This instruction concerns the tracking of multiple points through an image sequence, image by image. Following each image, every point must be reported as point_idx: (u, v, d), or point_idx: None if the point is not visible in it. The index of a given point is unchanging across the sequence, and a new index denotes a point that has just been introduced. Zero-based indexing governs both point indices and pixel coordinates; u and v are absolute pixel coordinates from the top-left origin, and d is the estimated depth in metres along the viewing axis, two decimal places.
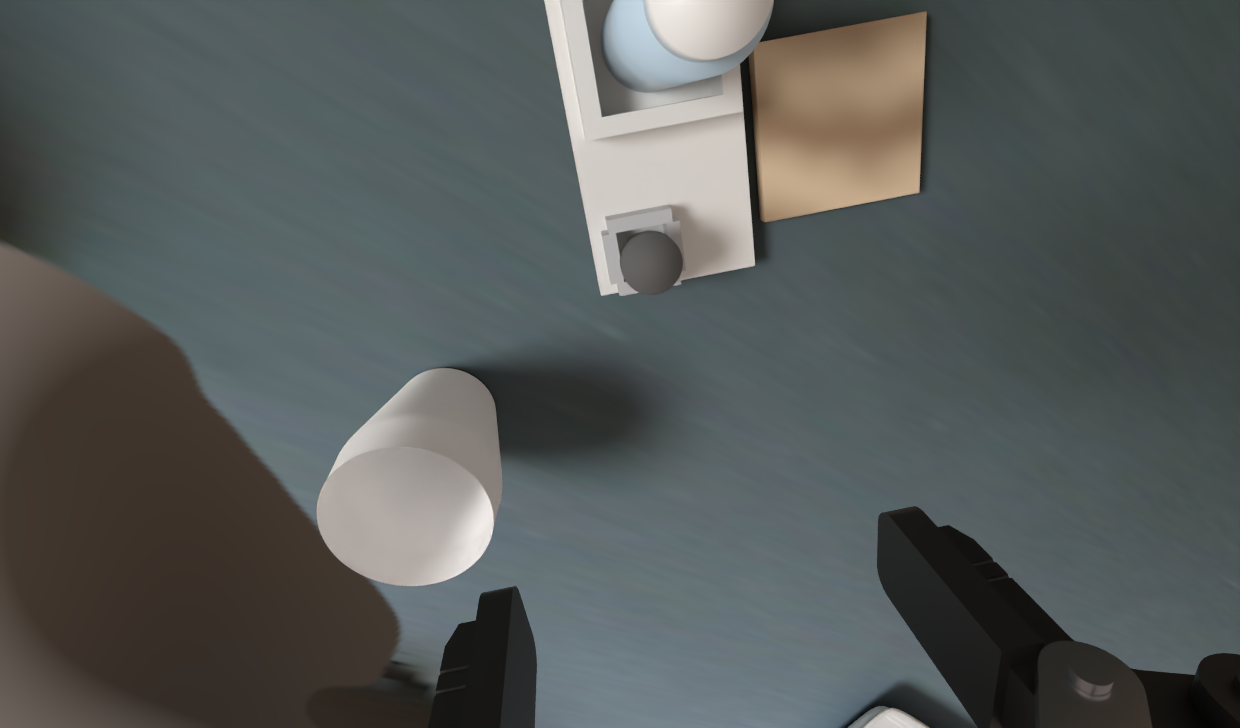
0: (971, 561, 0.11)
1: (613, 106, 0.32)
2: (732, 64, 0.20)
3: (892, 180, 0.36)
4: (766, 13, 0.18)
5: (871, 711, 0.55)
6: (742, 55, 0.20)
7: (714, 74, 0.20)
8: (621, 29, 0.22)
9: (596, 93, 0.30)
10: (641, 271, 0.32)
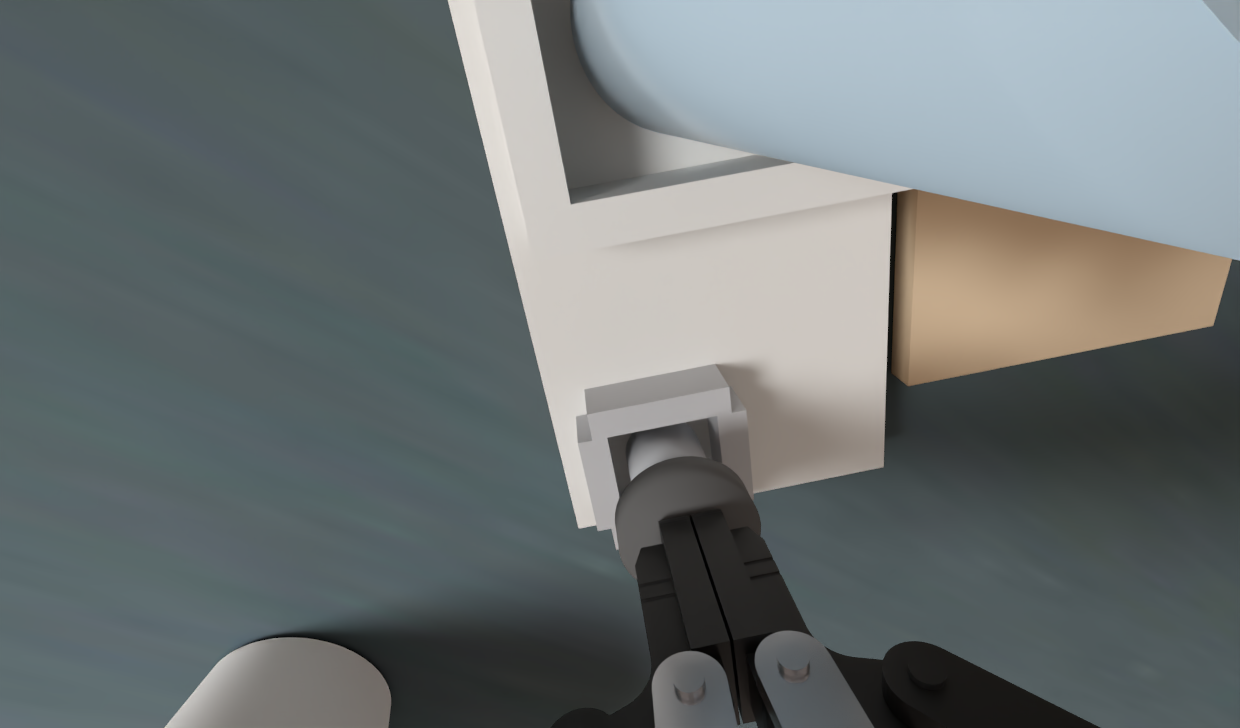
0: (753, 559, 0.12)
1: (602, 165, 0.14)
2: None
3: (1167, 304, 0.18)
4: None
5: None
6: None
7: None
8: None
9: (555, 146, 0.11)
10: None
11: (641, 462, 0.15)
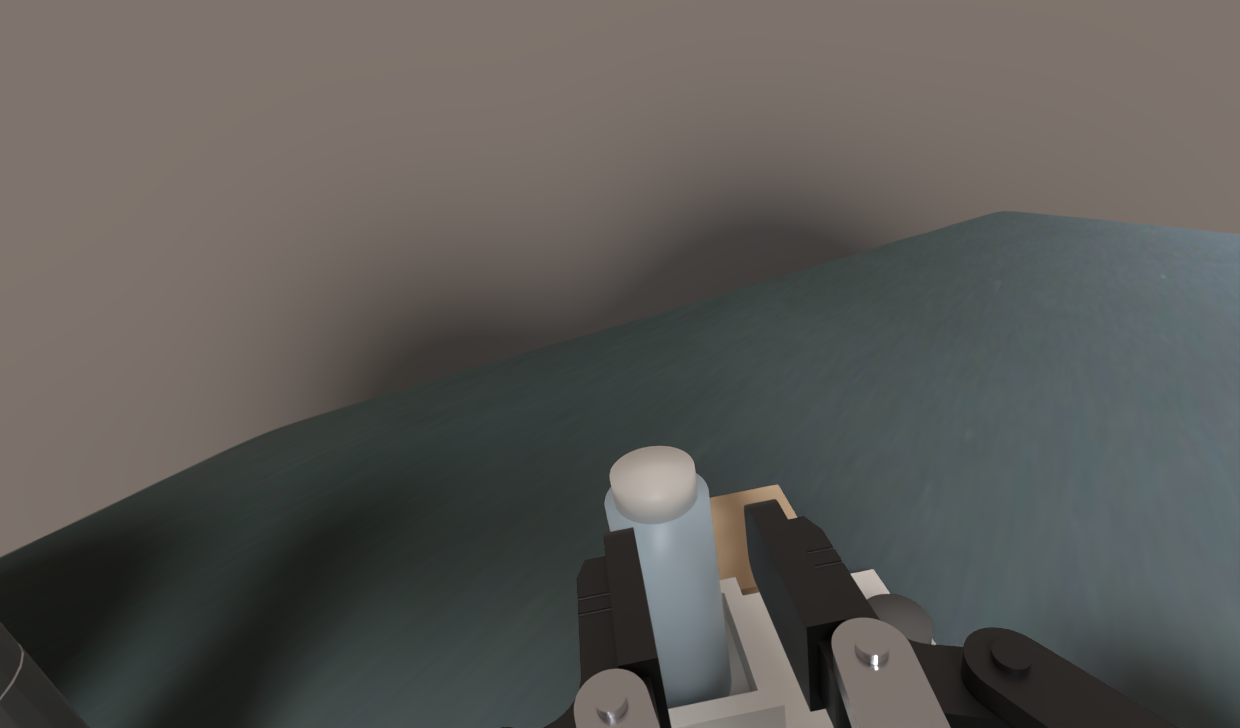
0: (813, 548, 0.12)
1: None
2: (697, 476, 0.28)
3: None
4: (666, 447, 0.28)
5: None
6: None
7: (705, 484, 0.28)
8: (678, 578, 0.26)
9: (736, 696, 0.29)
10: (906, 628, 0.29)
11: None
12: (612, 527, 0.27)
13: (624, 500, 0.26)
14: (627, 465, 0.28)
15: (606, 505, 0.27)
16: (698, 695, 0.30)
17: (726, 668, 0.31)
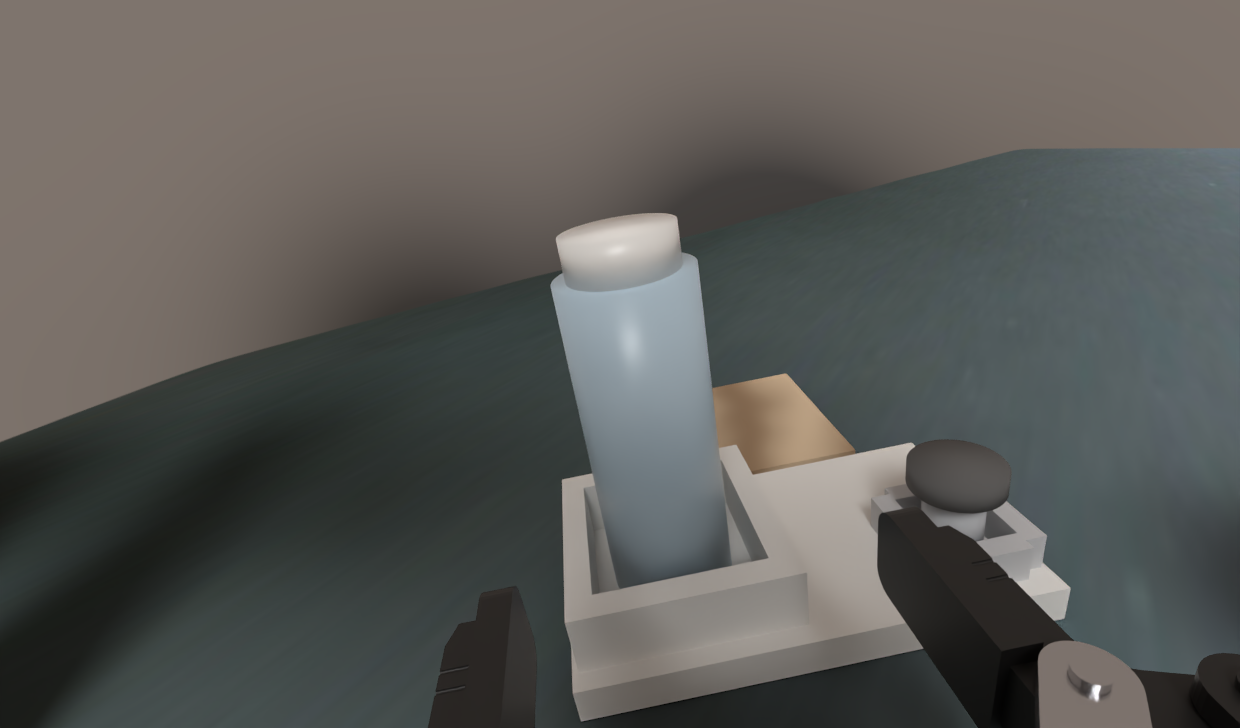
0: (971, 561, 0.11)
1: None
2: (683, 254, 0.20)
3: (780, 387, 0.38)
4: (639, 215, 0.20)
5: None
6: None
7: (692, 258, 0.20)
8: (654, 378, 0.18)
9: (738, 566, 0.21)
10: (974, 472, 0.21)
11: None
12: (559, 309, 0.19)
13: (574, 258, 0.18)
14: (582, 229, 0.19)
15: (553, 285, 0.19)
16: (686, 570, 0.22)
17: (724, 539, 0.23)
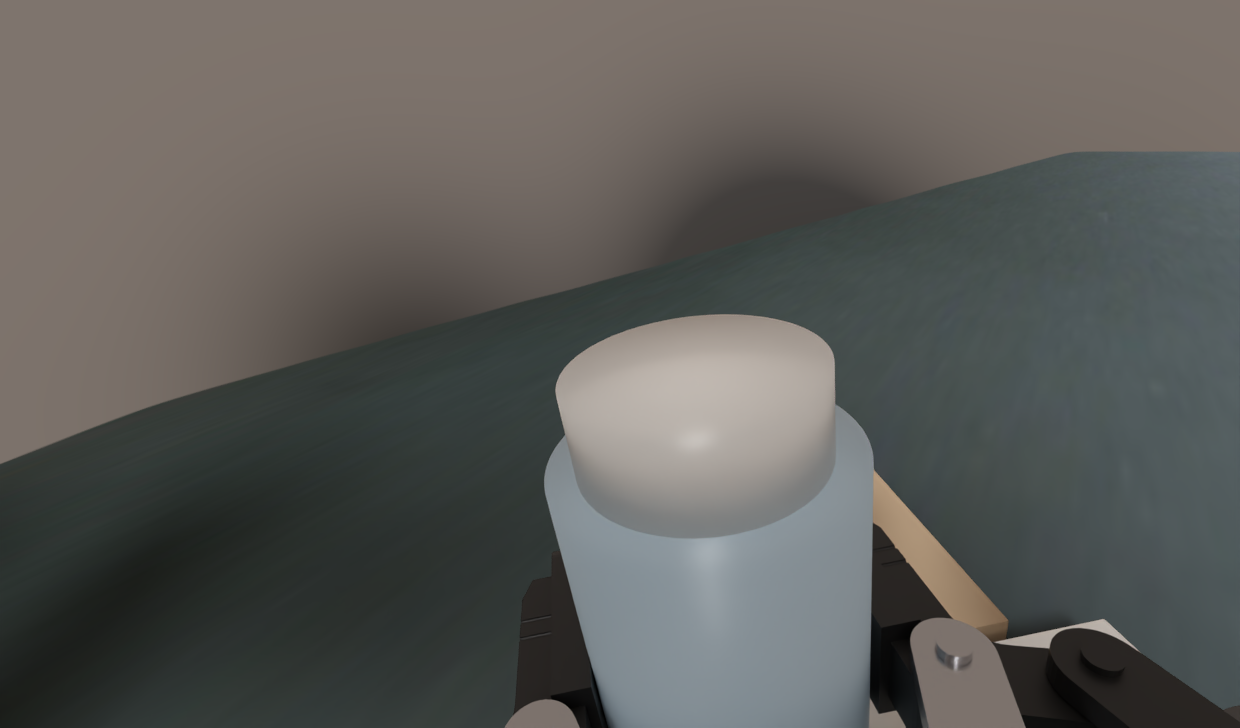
0: (874, 547, 0.12)
1: None
2: None
3: None
4: (725, 317, 0.10)
5: None
6: None
7: (845, 416, 0.09)
8: (781, 717, 0.08)
9: None
10: None
11: None
12: (564, 548, 0.08)
13: (600, 456, 0.07)
14: (613, 358, 0.09)
15: (550, 480, 0.09)
16: None
17: None
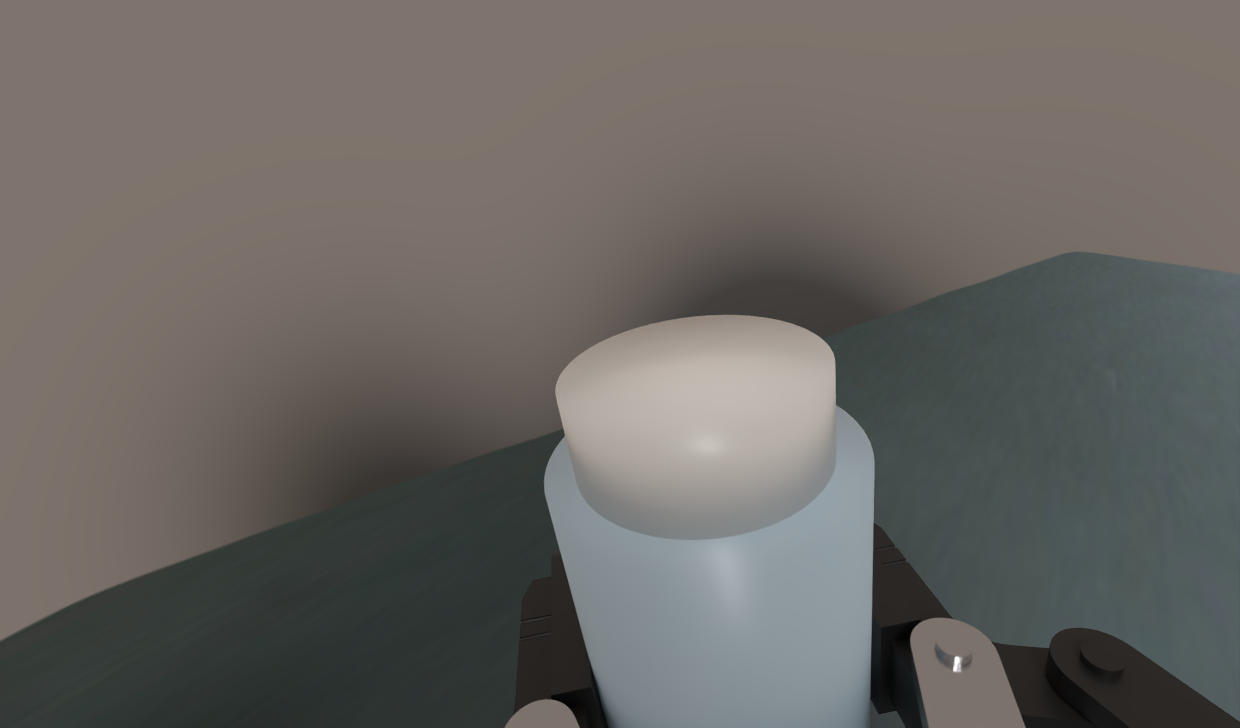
0: (874, 547, 0.12)
1: None
2: None
3: None
4: (726, 318, 0.10)
5: None
6: None
7: (845, 416, 0.09)
8: (782, 719, 0.08)
9: None
10: None
11: None
12: (564, 549, 0.08)
13: (600, 457, 0.07)
14: (613, 359, 0.09)
15: (550, 482, 0.09)
16: None
17: None
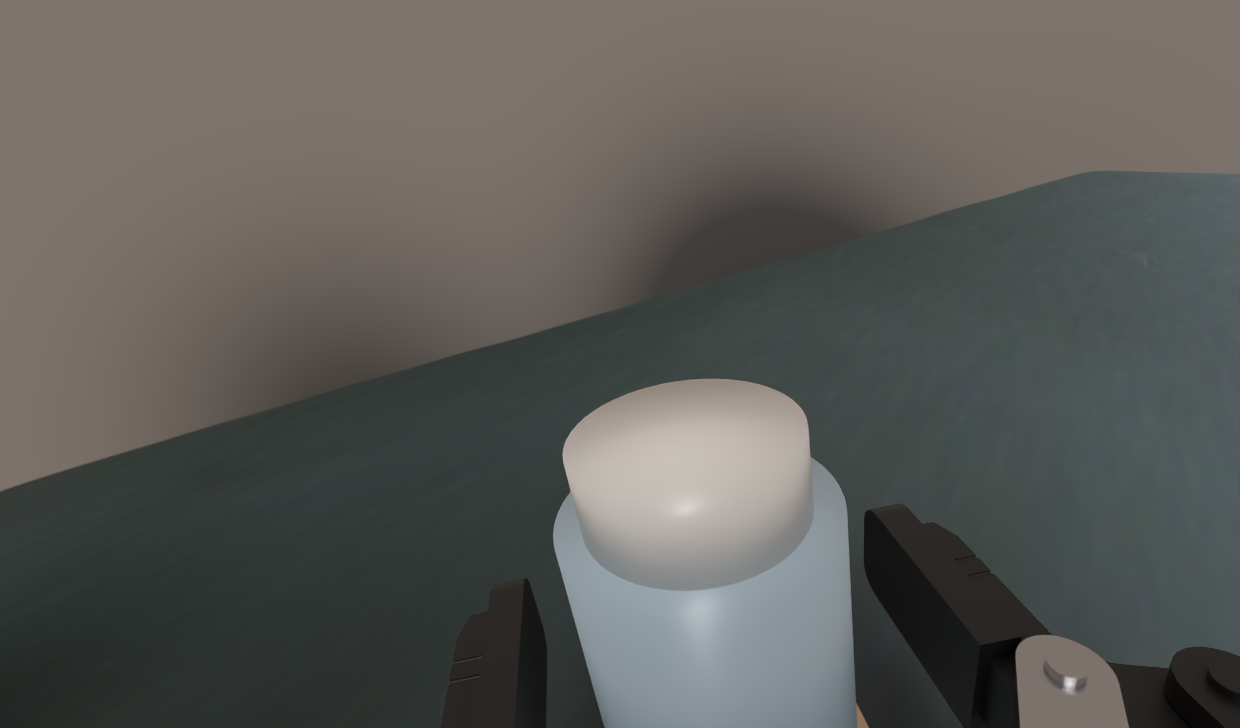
0: (954, 557, 0.11)
1: None
2: None
3: None
4: (715, 382, 0.11)
5: None
6: None
7: (824, 472, 0.10)
8: None
9: None
10: None
11: None
12: (571, 597, 0.09)
13: (601, 517, 0.08)
14: (614, 423, 0.10)
15: (558, 534, 0.10)
16: None
17: None
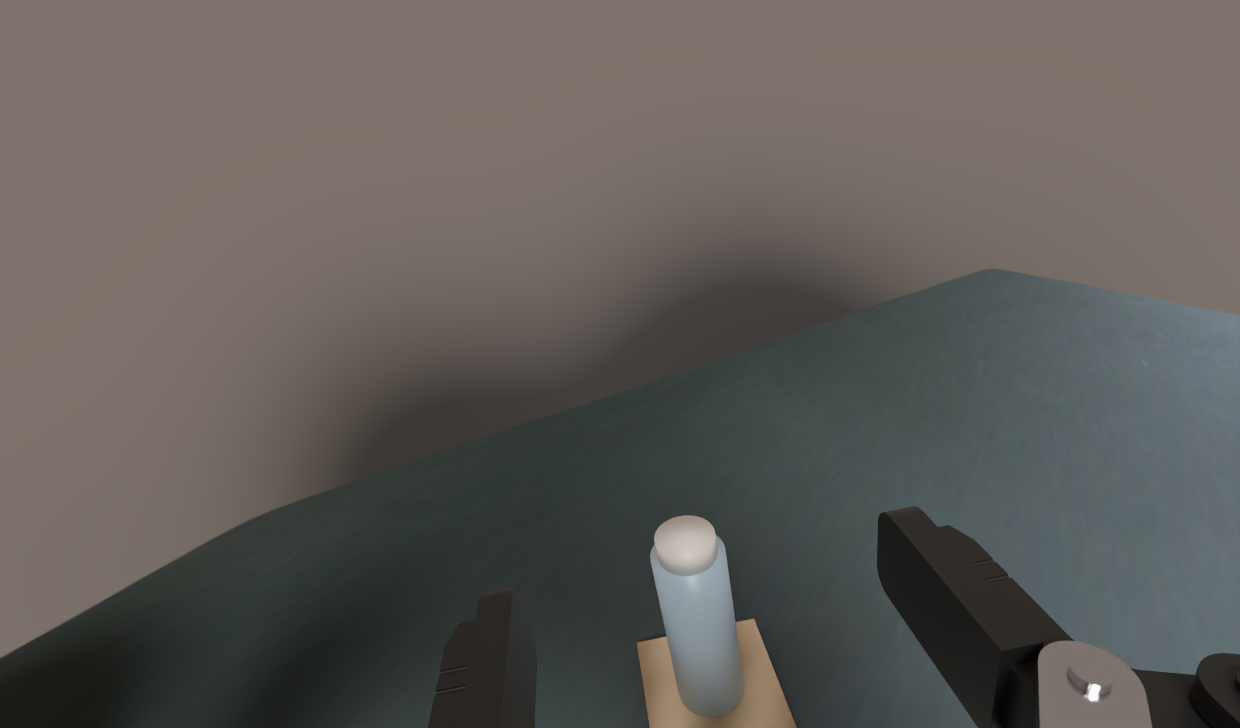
0: (971, 561, 0.11)
1: None
2: (717, 538, 0.39)
3: (747, 638, 0.47)
4: (694, 517, 0.39)
5: None
6: None
7: (722, 544, 0.38)
8: (704, 613, 0.37)
9: None
10: None
11: None
12: (656, 577, 0.38)
13: (665, 559, 0.37)
14: (666, 531, 0.38)
15: (652, 560, 0.38)
16: (719, 697, 0.40)
17: (740, 677, 0.41)
